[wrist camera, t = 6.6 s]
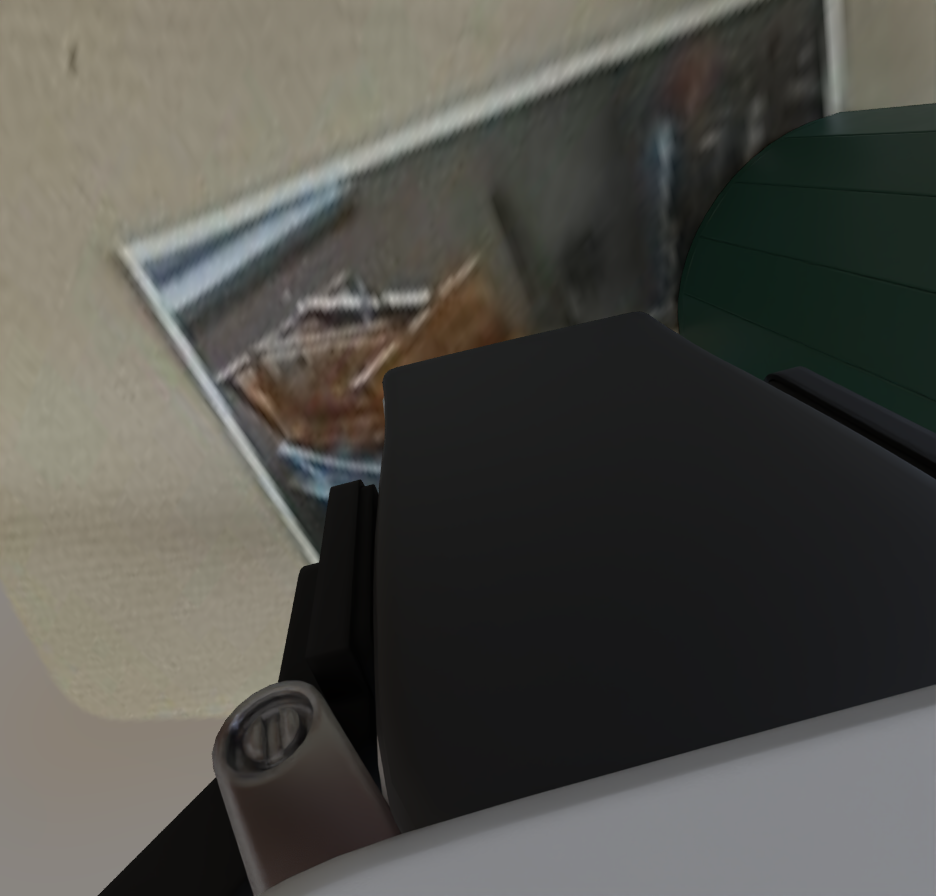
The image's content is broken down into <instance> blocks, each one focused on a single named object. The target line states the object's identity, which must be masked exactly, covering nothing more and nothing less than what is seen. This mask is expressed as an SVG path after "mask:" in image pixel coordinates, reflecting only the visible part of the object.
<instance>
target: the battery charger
mask: <svg viewBox="0 0 936 896" xmlns="http://www.w3.org/2000/svg"><path fill="white" fill-rule="evenodd" d="M382 383H383V390H384V399H383V405H384V415H385V440H384V448H383V456H382V463H381V474H380V483H379V495H378V505H377V518H376V530H375V549H374V576H373V629H374V675H375V702H376V729H377V749H378V768H379V774H380V781H381V789H382V795H383V797H384V798H385V800H386V802H387V803H388V805H389V806H390V810H391V813H392V815H393V817H394V820H395V822H396V824H397V826H398V828H399V830H400V832H401V834H403V833H407V832H410V831H413V830H417V829H420V828H423V827H427V826H430V825H433V824H437V823H440V822H444V821H447V820H450V819H454V818H457V817H460V816H464V815H467V814H470V813H474V812H477V811H481V810H484V809H487V808H491V807H494V806H497V805H501V804H504V803H507V802H511V801H514V800H518V799H521V798H524V797H528V796H532V795H535V794H539V793H542V792H546V791H550V790H553V789H557V788H560V787H564V786H568V785H571V784H575V783H578V782H582V781H586V780H589V779H593V778H596V777H600V776H603V775H607V774H611V773H614V772H618V771H621V770H625V769H629V768H632V767H636V766H639V765H643V764H647V763H650V762H654V761H657V760H661V759H665V758H668V757H672V756H675V755H679V754H683V753H686V752H690V751H693V750H697V749H701V748H704V747H708V746H711V745H715V744H719V743H722V742H726V741H730V740H733V739H737V738H741V737H744V736H748V735H752V734H755V733H759V732H763V731H766V730H770V729H774V728H777V727H781V726H785V725H788V724H792V723H796V722H799V721H803V720H807V719H810V718H814V717H818V716H821V715H825V714H829V713H832V712H836V711H840V710H843V709H847V708H851V707H854V706H858V705H862V704H865V703H869V702H873V701H877V700H880V699H884V698H888V697H891V696H895V695H899V694H902V693H906V692H910V691H913V690H917V689H921V688H924V687H928V686H932V685H936V479H934V478H933V477H931V476H929V475H928V474H926V473H924V472H923V471H921V470H919V469H918V468H916V467H914V466H913V465H911V464H909V463H908V462H906V461H904V460H903V459H901V458H899V457H898V456H896V455H894V454H893V453H891V452H889V451H888V450H886V449H884V448H883V447H881V446H879V445H877V444H876V443H874V442H872V441H870V440H869V439H867V438H865V437H864V436H862V435H860V434H858V433H857V432H855V431H853V430H851V429H850V428H848V427H846V426H844V425H843V424H841V423H839V422H837V421H836V420H834V419H832V418H830V417H829V416H827V415H825V414H823V413H821V412H819V411H818V410H816V409H814V408H812V407H810V406H808V405H807V404H805V403H803V402H801V401H799V400H797V399H796V398H794V397H792V396H790V395H788V394H786V393H785V392H783V391H781V390H779V389H777V388H775V387H774V386H772V385H770V384H768V383H766V382H764V381H762V380H760V379H759V378H757V377H755V376H753V375H751V374H749V373H747V372H746V371H744V370H742V369H740V368H738V367H736V366H734V365H732V364H730V363H728V362H726V361H724V360H722V359H720V358H718V357H716V356H714V355H713V354H711V353H709V352H707V351H706V350H704V349H702V348H700V347H699V346H697V345H695V344H693V343H692V342H690V341H689V340H687V339H686V338H684V337H683V336H681V335H679V334H678V333H676V332H674V331H672V330H671V329H669V328H668V327H666V326H665V325H663V324H662V323H660V322H659V321H657V320H656V319H654V318H653V317H651V316H650V315H649V314H647V313H644V312H631V313H627V314H622V315H618V316H613V317H609V318H604V319H600V320H595V321H591V322H586V323H582V324H578V325H573V326H569V327H564V328H560V329H556V330H551V331H547V332H543V333H538V334H534V335H529V336H525V337H521V338H516V339H512V340H508V341H504V342H500V343H495V344H491V345H487V346H483V347H479V348H474V349H470V350H466V351H462V352H458V353H453V354H449V355H445V356H441V357H437V358H433V359H429V360H425V361H421V362H417V363H412V364H408V365H404V366H400V367H396V368H394V369H391V370H389V371H388V372H387V373H386V374H385V375H384V378H383V382H382Z"/></svg>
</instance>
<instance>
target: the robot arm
mask: <svg viewBox="0 0 936 896" xmlns="http://www.w3.org/2000/svg"><path fill="white" fill-rule="evenodd" d="M764 382H766V383H768V384H770V385H772V386H774V387H775V388H777V389H779V390H781V391H783V392H785V393H786V394H788V395H790V396H792V397H794V398H796V399H797V400H799V401H801V402H803V403H805V404H807V405H808V406H810V407H812V408H814V409H816V410H818V411H819V412H821V413H823V414H825V415H827V416H829V417H830V418H832V419H834V420H836V421H837V422H839V423H841V424H843V425H844V426H846V427H848V428H850V429H851V430H853V431H855V432H857V433H858V434H860V435H862V436H864V437H865V438H867V439H869V440H870V441H872V442H874V443H876V444H877V445H879V446H881V447H883V448H884V449H886V450H888V451H889V452H891V453H893V454H894V455H896V456H898V457H899V458H901V459H903V460H904V461H906V462H908V463H909V464H911V465H913V466H914V467H916V468H918V469H919V470H921V471H923V472H924V473H926V474H928V475H929V476H931V477H933V478H934V479H936V433H934V432H932V431H930V430H928V429H926V428H924V427H922V426H920V425H918V424H916V423H914V422H912V421H910V420H908V419H906V418H904V417H902V416H900V415H898V414H896V413H894V412H892V411H890V410H888V409H886V408H884V407H882V406H880V405H879V404H877V403H875V402H873V401H871V400H869V399H867V398H865V397H863V396H861V395H859V394H857V393H855V392H853V391H851V390H849V389H847V388H845V387H843V386H841V385H839V384H837V383H835V382H833V381H831V380H829V379H827V378H825V377H823V376H821V375H819V374H817V373H815V372H813V371H811V370H809V369H807V368H805V367H802V366H798V367H794V368H790V369H786V370H782V371H779V372H775V373H771V374H768V375H767V376H766V377H765V379H764ZM377 505H378V492H377V489H376V487H375V485H374V484H372V485H368V486H364V484H363V482H362V480H357V481H353V482H349V483H345V484H341V485H337V486H334V487H331V488H330V493H329V500H328V506H327V513H326V520H325V527H324V533H323V540H322V547H321V554H320V560H319V563H315V564H311V565H307V566H304V567H303V568H301V570H300V573H299V576H298V582H297V587H296V592H295V597H294V602H293V608H292V613H291V618H290V623H289V628H288V634H287V639H286V644H285V649H284V654H283V660H282V665H281V670H280V675H279V680H278V683H276V684H272V685H269V686H267V687H265V688H263V689H261V690H259V691H258V692H256V693H254V694H252V695H251V696H250V697H249V698H247V699H246V700H245V701H244V702H242V703H241V704H240V705H238V707H237V708H236V709H235V710H234V711H233V712H232V713H231V715H230V716H229V717H228V718H227V719H226V720H225V722H224V724H223V726H222V727H221V729H220V731H219V733H218V735H217V737H216V740H215V744H214V747H213V751H212V759H213V769H214V772H215V775H216V778H215V779H214V780H213V781H212V782H211V783H210V784H209V785H208V786H207V787H206V788H205V789H204V790H203V791H202V792H201V793H200V794H199V795H198V796H197V797H196V798H195V799H194V800H193V801H192V802H191V803H190V804H189V805H188V806H187V807H186V808H185V809H184V810H183V811H182V812H181V813H180V814H179V815H178V816H177V817H176V818H175V819H174V820H173V821H172V822H171V823H170V824H169V825H168V826H167V827H166V828H165V829H164V830H163V831H162V832H161V833H160V834H159V835H158V836H157V837H156V838H155V839H154V840H153V841H152V842H151V843H150V844H149V845H148V846H147V847H146V848H145V849H144V850H143V851H142V852H141V853H140V854H139V855H138V856H137V857H136V858H135V859H134V860H133V861H132V862H131V863H130V864H129V865H128V866H127V867H126V868H125V869H124V870H123V871H122V872H121V873H120V874H119V875H118V876H117V877H116V878H115V879H114V880H113V881H112V882H111V883H110V884H109V885H108V886H107V887H106V888H105V889H104V890H103V891H102V892H101V893H100V894H99V895H98V896H936V685H932V686H928V687H924V688H921V689H917V690H913V691H910V692H906V693H902V694H899V695H895V696H891V697H888V698H884V699H880V700H877V701H873V702H869V703H865V704H862V705H858V706H854V707H851V708H847V709H843V710H840V711H836V712H832V713H829V714H825V715H821V716H818V717H814V718H810V719H807V720H803V721H799V722H796V723H792V724H788V725H785V726H781V727H777V728H774V729H770V730H766V731H763V732H759V733H755V734H752V735H748V736H744V737H741V738H737V739H733V740H730V741H726V742H722V743H719V744H715V745H711V746H708V747H704V748H701V749H697V750H693V751H690V752H686V753H683V754H679V755H675V756H672V757H668V758H665V759H661V760H657V761H654V762H650V763H647V764H643V765H639V766H636V767H632V768H629V769H625V770H621V771H618V772H614V773H611V774H607V775H603V776H600V777H596V778H593V779H589V780H586V781H582V782H578V783H575V784H571V785H568V786H564V787H560V788H557V789H553V790H550V791H546V792H542V793H539V794H535V795H532V796H528V797H524V798H521V799H518V800H514V801H511V802H507V803H504V804H501V805H497V806H494V807H491V808H487V809H484V810H481V811H477V812H474V813H470V814H467V815H464V816H460V817H457V818H454V819H450V820H447V821H444V822H440V823H437V824H433V825H430V826H427V827H423V828H420V829H417V830H413V831H410V832H407V833H403V834H401V832H400V830H399V828H398V826H397V824H396V822H395V820H394V817H393V815H392V813H391V810H390V806H389V805H388V803H387V802H386V800H385V798H384V797H383V795H382V789H381V781H380V774H379V768H378V749H377V729H376V702H375V675H374V629H373V576H374V549H375V530H376V518H377Z"/></svg>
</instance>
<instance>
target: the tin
mask: <svg viewBox="0 0 936 896" xmlns="http://www.w3.org/2000/svg"><path fill="white" fill-rule="evenodd" d="M678 322H679V332H680V335H681V336H683V337H684V338H686V339H687V340H689V341H690V342H692V343H693V344H695V345H697V346H699V347H700V348H702V349H704V350H706V351H707V352H709V353H711V354H713V355H714V356H716V357H718V358H720V359H722V360H724V361H726V362H728V363H730V364H732V365H734V366H736V367H738V368H740V369H742V370H744V371H746V372H747V373H749V374H751V375H753V376H755V377H757V378H759V379H760V380H762V381H764V379H765V377H766V376H767V375H768V374H771V373H775V372H779V371H782V370H786V369H790V368H794V367H798V366H802V367H805V368H807V369H809V370H811V371H813V372H815V373H817V374H819V375H821V376H823V377H825V378H827V379H829V380H831V381H833V382H835V383H837V384H839V385H841V386H843V387H845V388H847V389H849V390H851V391H853V392H855V393H857V394H859V395H861V396H863V397H865V398H867V399H869V400H871V401H873V402H875V403H877V404H879V405H880V406H882V407H884V408H886V409H888V410H890V411H892V412H894V413H896V414H898V415H900V416H902V417H904V418H906V419H908V420H910V421H912V422H914V423H916V424H918V425H920V426H922V427H924V428H926V429H928V430H930V431H932V432H934V433H936V103H933V104H923V105H912V106H901V107H891V108H880V109H869V110H859V111H848V112H839V113H836V114H834V115H831V116H828V117H825V118H821V119H818V120H815V121H812V122H809V123H807V124H805V125H803V126H801V127H799V128H797V129H795V130H792V131H790V132H788V133H787V134H785V135H784V136H782V137H781V138H779V139H777V140H776V141H774V142H773V143H771V144H770V145H768V146H767V147H766V148H765V149H763V150H762V151H761V152H760V153H758V154H757V155H756V156H755V157H754V158H752V159H751V160H750V161H749V162H748V163H747V164H746V165H745V166H744V167H743V168H742V169H741V170H740V171H739V172H738V173H737V174H736V175H735V176H734V177H733V178H732V179H731V181H730V182H729V183H728V184H727V186H726V187H725V188H724V189H723V191H722V192H721V193H720V194H719V196H718V197H717V199H716V200H715V202H714V203H713V205H712V206H711V208H710V209H709V211H708V212H707V214H706V216H705V217H704V219H703V221H702V223H701V225H700V227H699V229H698V231H697V233H696V235H695V237H694V240H693V242H692V245H691V247H690V250H689V253H688V255H687V258H686V262H685V266H684V269H683V273H682V277H681V283H680V290H679V296H678Z"/></svg>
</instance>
